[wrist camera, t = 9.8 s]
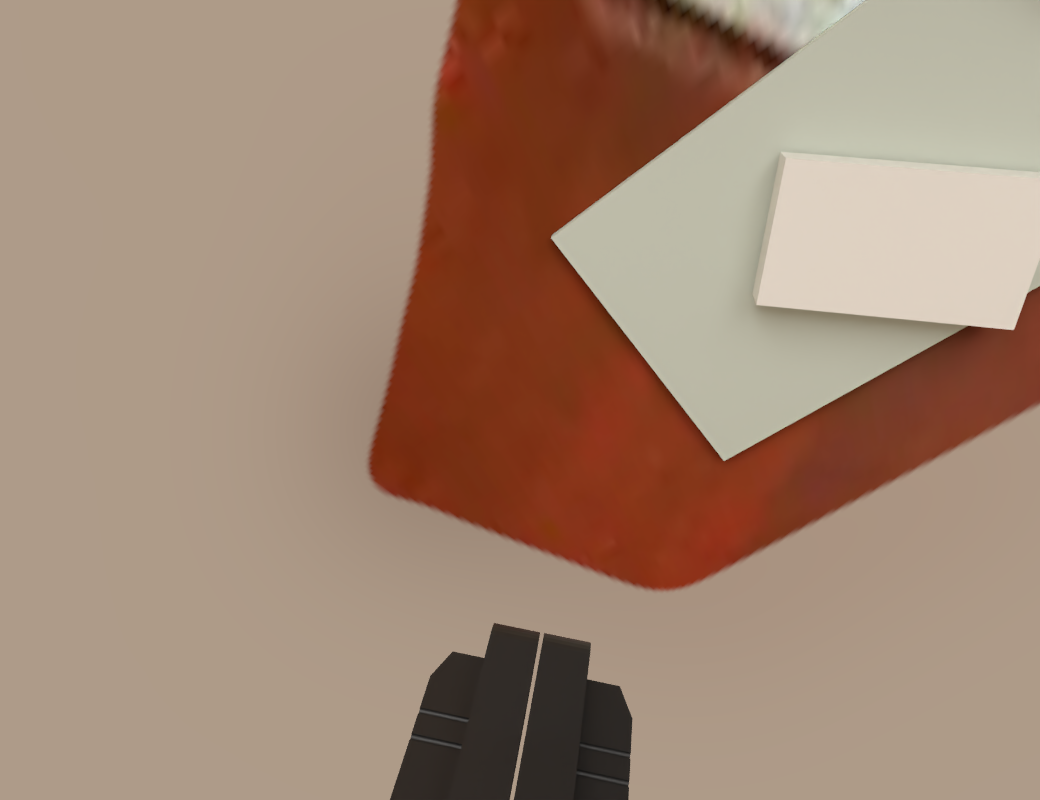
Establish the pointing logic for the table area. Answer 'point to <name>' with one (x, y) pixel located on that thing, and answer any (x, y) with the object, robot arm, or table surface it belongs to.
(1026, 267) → the tile
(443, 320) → the table surface
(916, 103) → the mat
